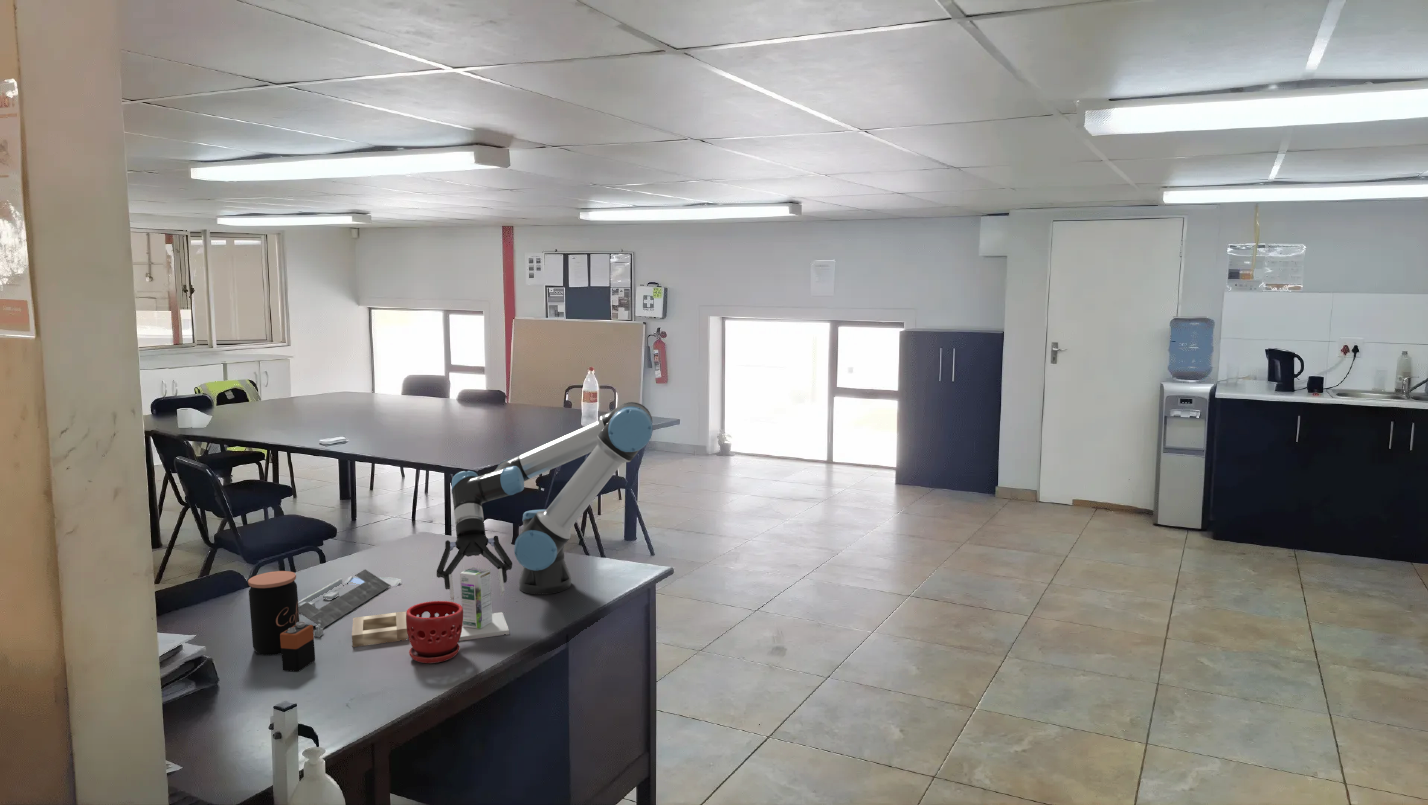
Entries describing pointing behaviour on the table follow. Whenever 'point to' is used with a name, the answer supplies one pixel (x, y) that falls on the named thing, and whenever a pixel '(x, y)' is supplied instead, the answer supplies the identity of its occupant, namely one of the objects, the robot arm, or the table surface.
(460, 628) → the plant pot
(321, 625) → the paper cutter
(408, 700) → the table surface
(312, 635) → the battery
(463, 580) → the syrup box
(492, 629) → the white mat
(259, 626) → the coffee jar
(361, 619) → the wooden holder
